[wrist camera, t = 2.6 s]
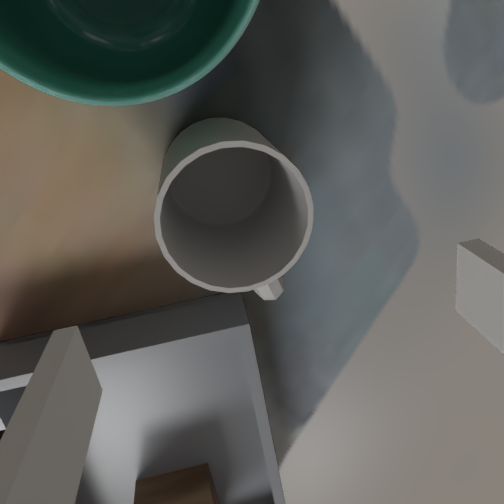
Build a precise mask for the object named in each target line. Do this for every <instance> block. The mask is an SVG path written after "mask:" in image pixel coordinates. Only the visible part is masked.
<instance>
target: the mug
mask: <svg viewBox="0 0 504 504" xmlns="http://www.w3.org/2000/svg"><path fill="white" fill-rule="evenodd" d="M259 1H260V0H0V69H2V70H3V71H5V72H6V73H8V74H9V75H11V76H12V77H14V78H16V79H18V80H19V81H21V82H23V83H25V84H26V85H29V86H31V87H33V88H35V89H38V90H40V91H42V92H44V93H47V94H50V95H53V96H55V97H58V98H61V99H64V100H68V101H72V102H77V103H82V104H88V105H97V106H130V105H138V104H143V103H148V102H152V101H156V100H159V99H162V98H165V97H168V96H170V95H173V94H175V93H177V92H179V91H181V90H184V89H185V88H187V87H189V86H191V85H192V84H194V83H196V82H197V81H199V80H200V79H201V78H203V77H204V76H205V75H207V74H208V73H209V72H210V71H211V70H213V69H214V68H215V67H216V66H217V65H218V64H219V63H220V62H221V61H222V60H223V59H224V58H225V57H226V56H227V54H228V53H229V52H230V51H231V50H232V48H233V47H234V46H235V44H236V43H237V42H238V40H239V39H240V38H241V36H242V35H243V33H244V31H245V30H246V28H247V26H248V25H249V23H250V21H251V19H252V17H253V15H254V13H255V11H256V9H257V6H258V4H259Z"/></svg>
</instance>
